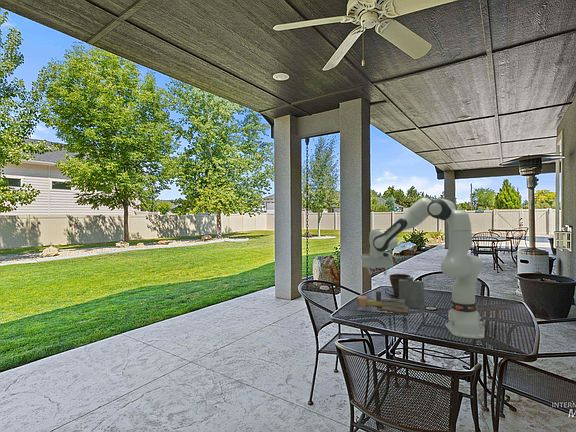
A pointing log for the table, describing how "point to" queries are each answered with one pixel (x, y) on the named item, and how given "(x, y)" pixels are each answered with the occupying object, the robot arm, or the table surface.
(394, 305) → the sleeve stand
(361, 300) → the socket block
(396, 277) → the plant pot
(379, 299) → the slip tube
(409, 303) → the hip flask
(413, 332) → the table surface
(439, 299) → the table surface
